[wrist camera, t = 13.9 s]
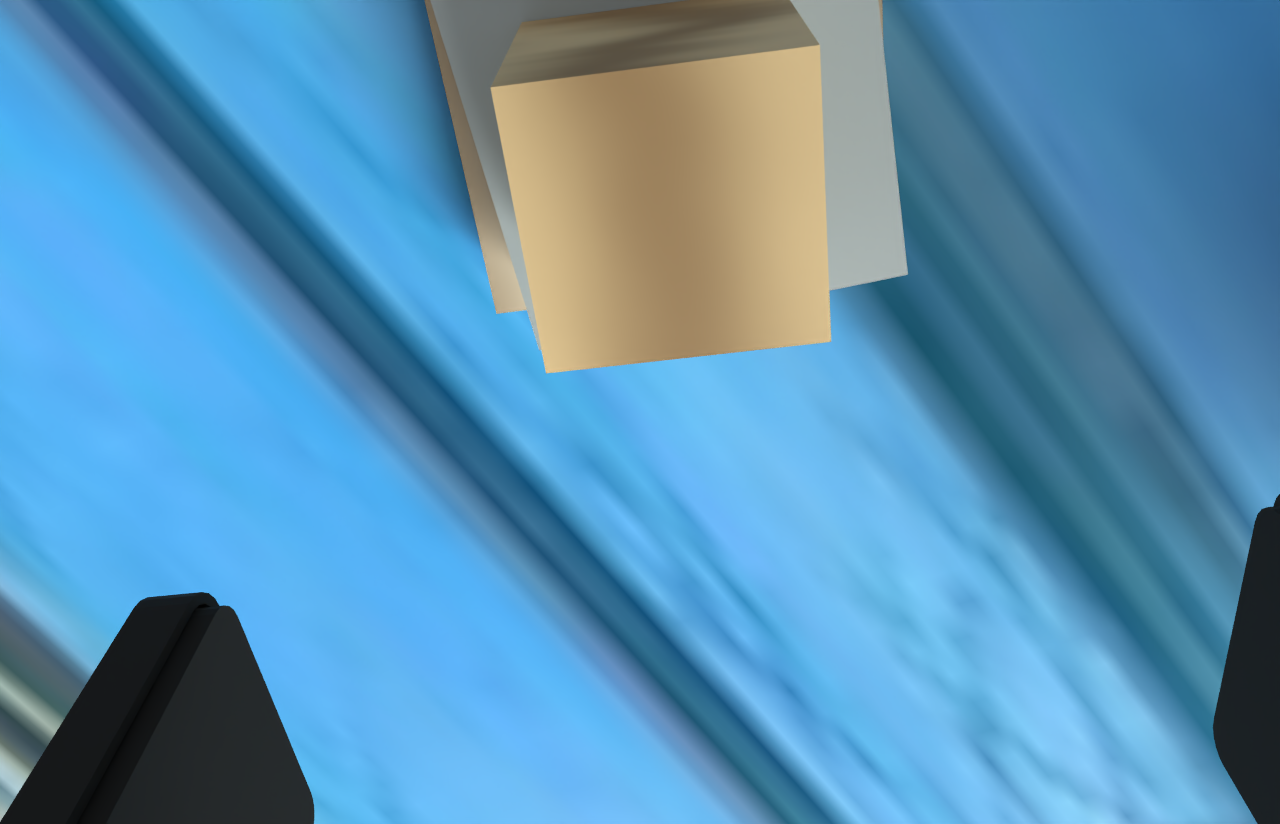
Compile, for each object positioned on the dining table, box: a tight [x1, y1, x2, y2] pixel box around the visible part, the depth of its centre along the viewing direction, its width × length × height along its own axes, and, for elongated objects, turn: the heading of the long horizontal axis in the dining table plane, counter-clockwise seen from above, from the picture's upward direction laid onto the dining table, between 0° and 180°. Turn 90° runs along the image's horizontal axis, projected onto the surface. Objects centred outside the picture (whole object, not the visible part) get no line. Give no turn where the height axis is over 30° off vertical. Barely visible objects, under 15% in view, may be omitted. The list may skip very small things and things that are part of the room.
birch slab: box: [425, 0, 883, 314], centre depth 31 cm, size 12×12×4 cm
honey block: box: [490, 0, 831, 373], centre depth 23 cm, size 6×6×6 cm
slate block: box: [430, 0, 908, 350], centre depth 28 cm, size 10×10×4 cm
